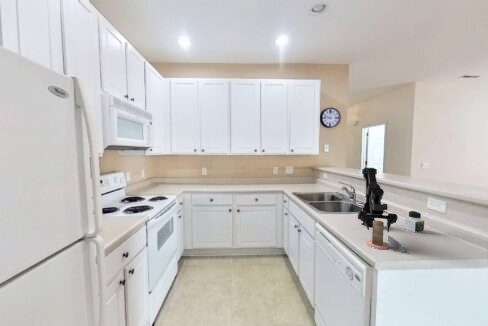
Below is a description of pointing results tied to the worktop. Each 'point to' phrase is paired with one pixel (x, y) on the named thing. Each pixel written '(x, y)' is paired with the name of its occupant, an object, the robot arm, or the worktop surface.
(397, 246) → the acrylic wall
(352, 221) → the worktop surface
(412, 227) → the medicine bottle
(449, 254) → the worktop surface
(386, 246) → the resting pad
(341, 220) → the worktop surface
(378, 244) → the walnut cylinder
